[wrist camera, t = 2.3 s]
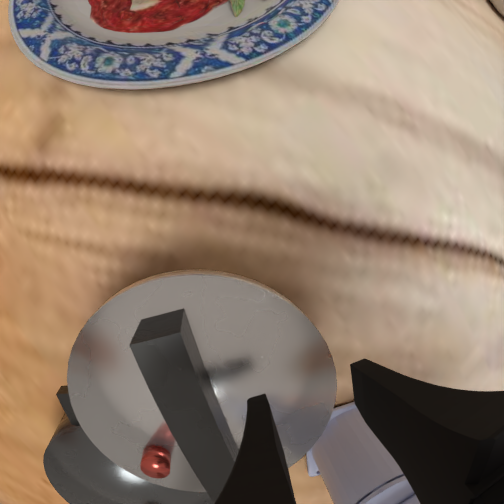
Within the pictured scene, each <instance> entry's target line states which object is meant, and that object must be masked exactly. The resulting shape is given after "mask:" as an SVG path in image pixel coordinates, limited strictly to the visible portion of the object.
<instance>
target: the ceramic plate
mask: <svg viewBox="0 0 504 504" xmlns="http://www.w3.org/2000/svg"><path fill="white" fill-rule="evenodd" d="M338 2H339V0H9V9H8V13H9V24H10V29H11V32H12V35H13V37H14V40H15V42H16V44H17V45H18V47H19V49H20V50H21V51H22V52H23V54H24V55H25V56H26V57H27V58H28V59H29V60H30V61H31V62H32V63H34V64H35V65H36V66H37V67H39V68H41V69H42V70H44V71H46V72H47V73H49V74H51V75H54V76H56V77H58V78H61V79H63V80H67V81H70V82H73V83H76V84H81V85H87V86H92V87H97V88H103V89H128V90H137V89H156V88H165V87H175V86H181V85H186V84H192V83H198V82H202V81H206V80H211V79H215V78H219V77H223V76H226V75H229V74H232V73H236V72H239V71H242V70H245V69H247V68H250V67H253V66H255V65H258V64H260V63H262V62H265V61H267V60H269V59H271V58H273V57H276V56H278V55H279V54H281V53H283V52H285V51H286V50H288V49H290V48H292V47H293V46H295V45H296V44H298V43H299V42H301V41H302V40H304V39H305V38H307V37H308V36H309V35H310V34H311V33H313V32H314V31H315V30H316V29H317V28H319V27H320V25H321V24H322V23H323V22H324V21H325V20H326V19H327V18H328V17H329V15H330V14H331V12H332V11H333V10H334V8H335V7H336V5H337V4H338Z"/></svg>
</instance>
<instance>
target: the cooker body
mask: <svg viewBox="0 0 504 504" xmlns="http://www.w3.org/2000/svg"><path fill="white" fill-rule="evenodd" d="M56 395H57V397H58V399H59V401H60V403H61V405H62V407H63V409H64V411H65V414H64V416H63V418H62V420H61V422H60V424H59V425H58V427H57V429H56V431H55V433H54V435H53V437H52V439H51V441H50V443H49V445H48V447H47V449H46V450H45V454H44V462H43V463H44V469H45V472H46V475H47V477H48V479H49V481H50V483H51V484H52V485H53V487H54V488H55V490H56V491H57V492H58V493H59V494H60V495H61V496H62V497H63V498H64V499H65V500H66V501H67V502H68V503H70V504H214V503H215V502H213V501H212V499H211V498H210V496H209V495H208V493H207V492H191V491H183V490H177V489H172V488H167V487H163V486H160V485H157V484H154V483H151V482H148V481H146V480H143V479H141V478H139V477H137V476H135V475H133V474H131V473H129V472H127V471H126V470H124V469H122V468H121V467H119V466H118V465H117V464H115V463H114V462H112V461H111V460H110V459H109V458H108V457H106V456H105V455H104V454H103V453H102V452H101V451H100V450H99V449H98V448H97V447H96V446H95V445H94V444H93V443H92V441H91V440H90V439H89V437H88V436H87V435H86V433H85V432H84V431H83V429H82V427H81V425H80V424H79V422H78V420H77V418H76V416H75V413H74V410H73V408H72V405H71V401H70V397H69V392H68V386H61V387H60V389H59V390H58V392H57V394H56Z"/></svg>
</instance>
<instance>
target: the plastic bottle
mask: <svg viewBox="0 0 504 504" xmlns="http://www.w3.org/2000/svg"><path fill="white" fill-rule="evenodd" d="M490 1H491V3H492V4H493V6H494V7H495V8H496V9H497V11H498V12H499V13H500V14H501V15H502V16H503V17H504V0H490Z"/></svg>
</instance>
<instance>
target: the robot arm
mask: <svg viewBox="0 0 504 504" xmlns="http://www.w3.org/2000/svg"><path fill="white" fill-rule="evenodd" d="M350 366H351V374H352V383H353V392H354V402H352V403H349V404H346V405H342V406H339V407H336V408H333V412H332V415H331V417H330V420H329V422H328V425H327V426H326V428H325V430H324V432H323V433H322V435H321V437H320V438H319V439H318V441H317V442H316V443H315V444H314V446H313V447H312V448H311V449H310V450H309V451H308V452H307V453H306V459H307V469H308V474H309V476H311V477H313V476H317V475H321V476H322V478H323V481H324V483H325V485H326V487H327V490H328V492H329V494H330V496H331V498H332V501H333V503H334V504H504V391H491V392H484V391H468V390H458V389H452V388H447V387H442V386H437V385H433V384H429V383H426V382H423V381H419V380H416V379H413V378H410V377H408V376H405V375H402V374H400V373H397V372H395V371H392V370H390V369H388V368H385V367H383V366H381V365H379V364H376V363H374V362H372V361H369V360H367V359H362V360H360V361H357V362H355V363H352V364H350ZM214 504H296V501H295V498H294V493H293V489H292V485H291V480H290V476H289V471H288V467H287V462H286V458H285V453H284V450H283V447H282V444H281V440H280V437H279V434H278V431H277V428H276V424H275V421H274V418H273V415H272V411H271V408H270V405H269V402H268V399H267V396H266V394H261V395H258V396H254V397H251V398H249V399H248V400H247V416H246V423H245V428H244V433H243V438H242V442H241V445H240V448H239V452H238V455H237V458H236V461H235V463H234V466H233V469H232V471H231V473H230V475H229V478H228V480H227V482H226V484H225V486H224V487H223V489H222V491H221V493H220V495H219V496H218V498H217V500H216V501H215V503H214Z"/></svg>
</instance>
